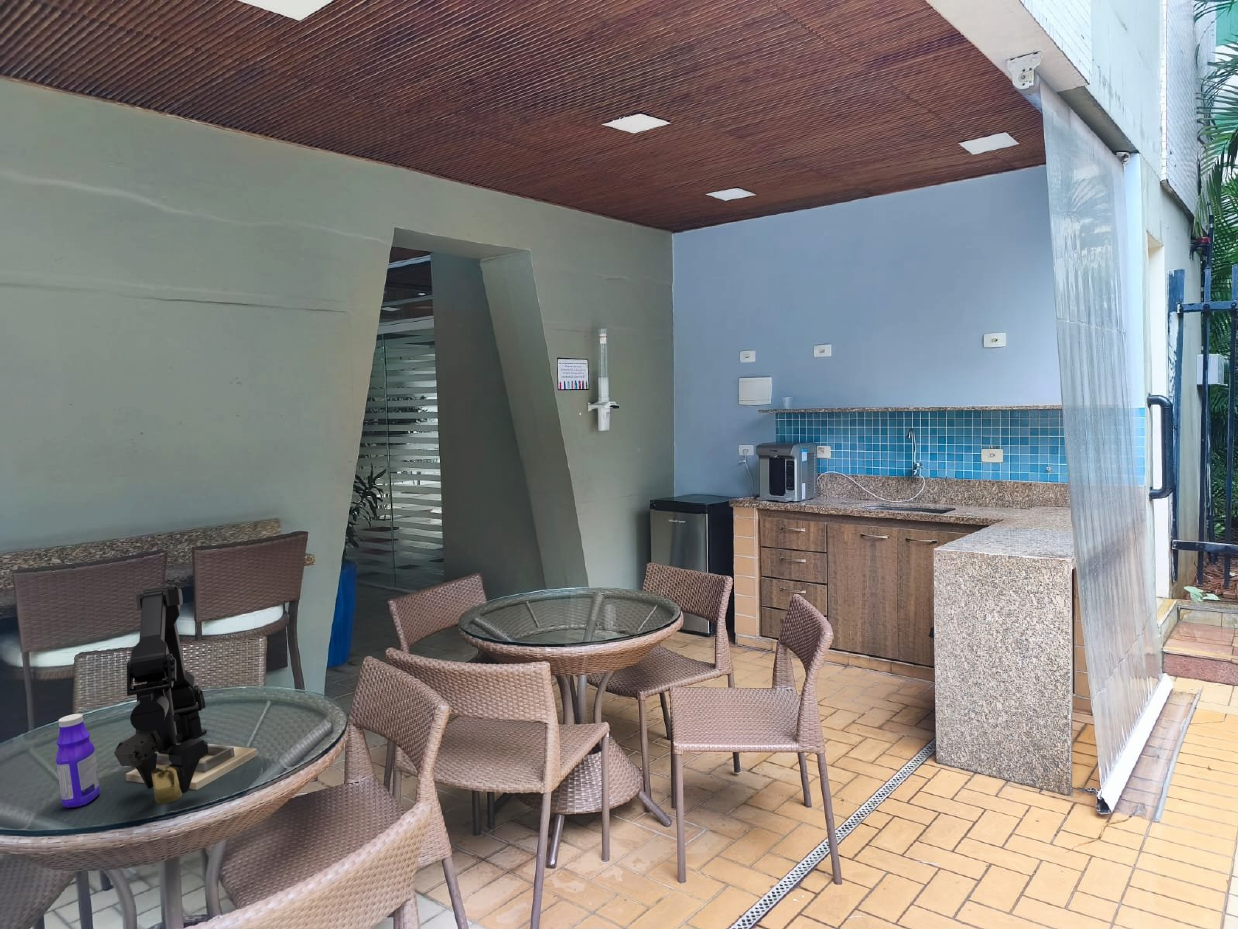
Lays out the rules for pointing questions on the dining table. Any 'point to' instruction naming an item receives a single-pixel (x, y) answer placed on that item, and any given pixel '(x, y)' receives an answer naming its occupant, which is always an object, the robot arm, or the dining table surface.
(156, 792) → the cylinder
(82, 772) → the bottle
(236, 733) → the dining table surface
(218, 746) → the board
